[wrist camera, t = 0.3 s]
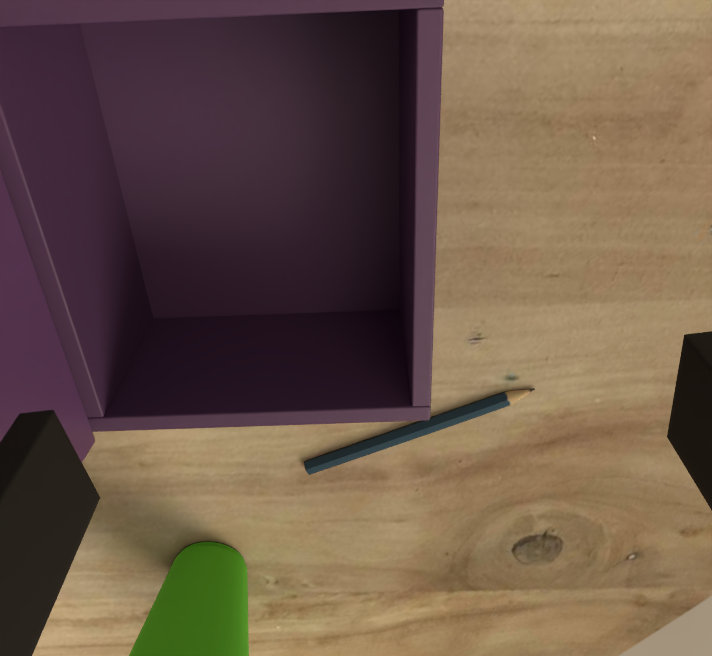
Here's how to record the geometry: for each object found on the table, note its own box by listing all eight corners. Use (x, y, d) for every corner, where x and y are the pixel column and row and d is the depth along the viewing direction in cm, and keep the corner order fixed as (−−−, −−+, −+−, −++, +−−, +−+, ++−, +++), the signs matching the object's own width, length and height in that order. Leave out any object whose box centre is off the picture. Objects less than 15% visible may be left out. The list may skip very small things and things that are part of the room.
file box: (417, -40, 25) (445, -24, 18) (413, 313, 34) (430, 421, 27) (56, -24, 26) (-64, -1, 18) (146, 323, 35) (90, 432, 27)
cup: (228, 616, 49) (200, 777, 40) (124, 568, 46) (67, 731, 37) (299, 559, 45) (286, 722, 36) (191, 503, 42) (147, 666, 33)
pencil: (304, 457, 40) (531, 378, 37) (311, 467, 41) (535, 389, 38) (303, 467, 40) (534, 387, 36) (310, 477, 40) (539, 399, 37)
